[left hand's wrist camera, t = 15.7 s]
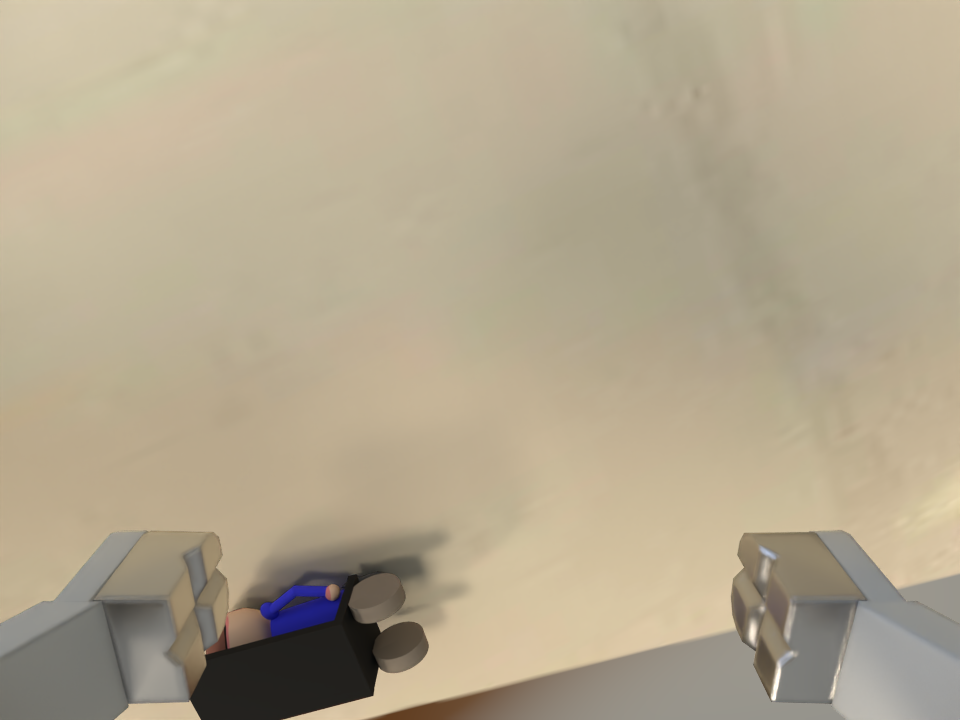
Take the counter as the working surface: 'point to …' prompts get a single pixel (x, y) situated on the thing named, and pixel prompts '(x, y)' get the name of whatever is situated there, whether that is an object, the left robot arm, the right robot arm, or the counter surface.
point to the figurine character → (307, 651)
